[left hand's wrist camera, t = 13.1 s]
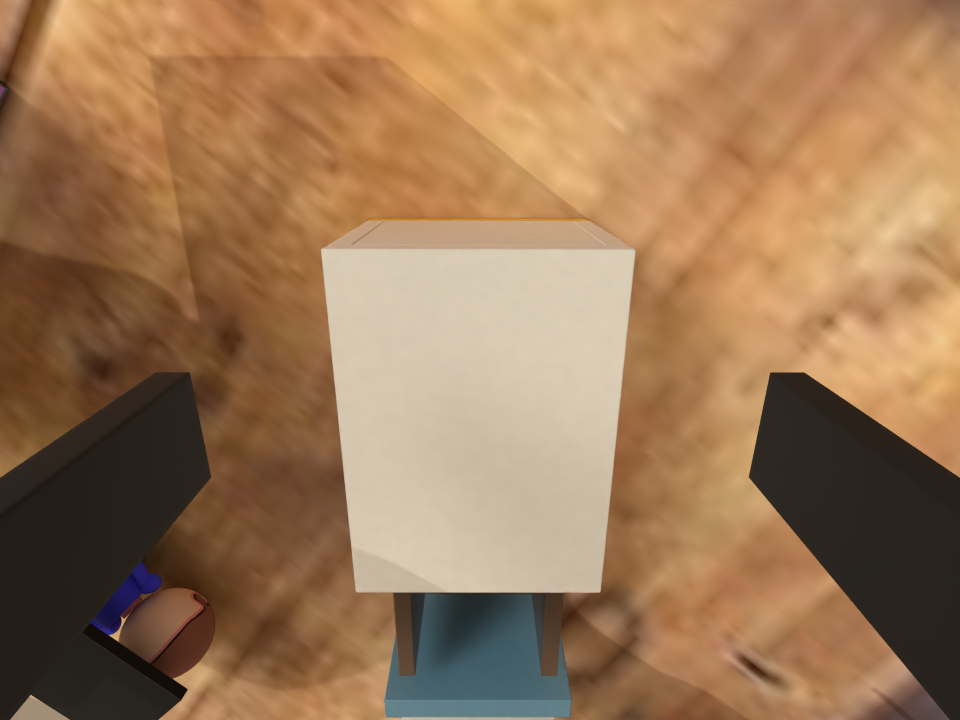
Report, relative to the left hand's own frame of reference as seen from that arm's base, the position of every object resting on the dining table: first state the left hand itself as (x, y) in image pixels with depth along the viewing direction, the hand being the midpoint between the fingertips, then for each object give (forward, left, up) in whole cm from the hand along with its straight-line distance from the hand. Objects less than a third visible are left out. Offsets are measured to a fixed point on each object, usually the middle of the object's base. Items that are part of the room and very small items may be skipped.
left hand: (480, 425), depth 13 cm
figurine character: (-2, -28, -16) cm, 32 cm away
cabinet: (+3, -3, -16) cm, 16 cm away
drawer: (+12, -11, -15) cm, 22 cm away
